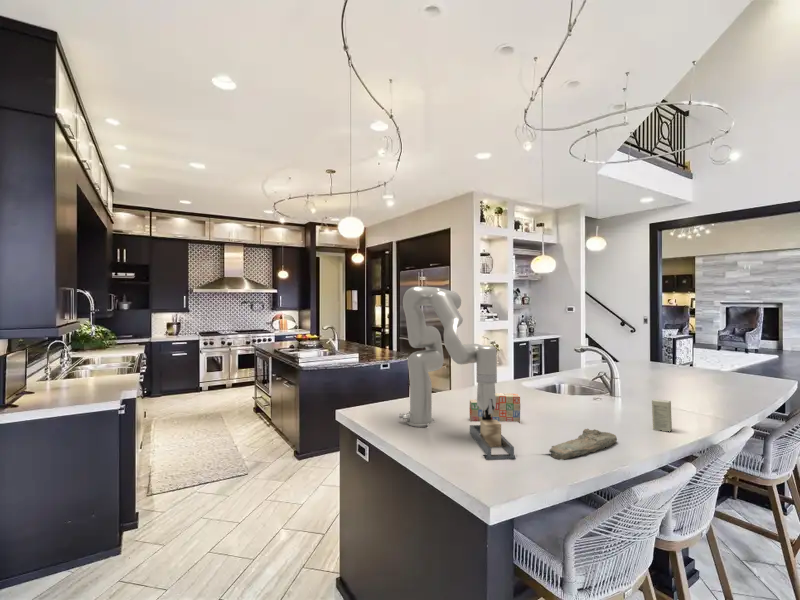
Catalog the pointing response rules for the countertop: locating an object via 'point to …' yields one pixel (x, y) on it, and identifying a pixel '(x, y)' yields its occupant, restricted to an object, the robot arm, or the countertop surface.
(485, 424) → the block
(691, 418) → the countertop surface
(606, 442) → the long grey stone
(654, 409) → the skincare box
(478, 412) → the stack of blocks
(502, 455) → the chute
